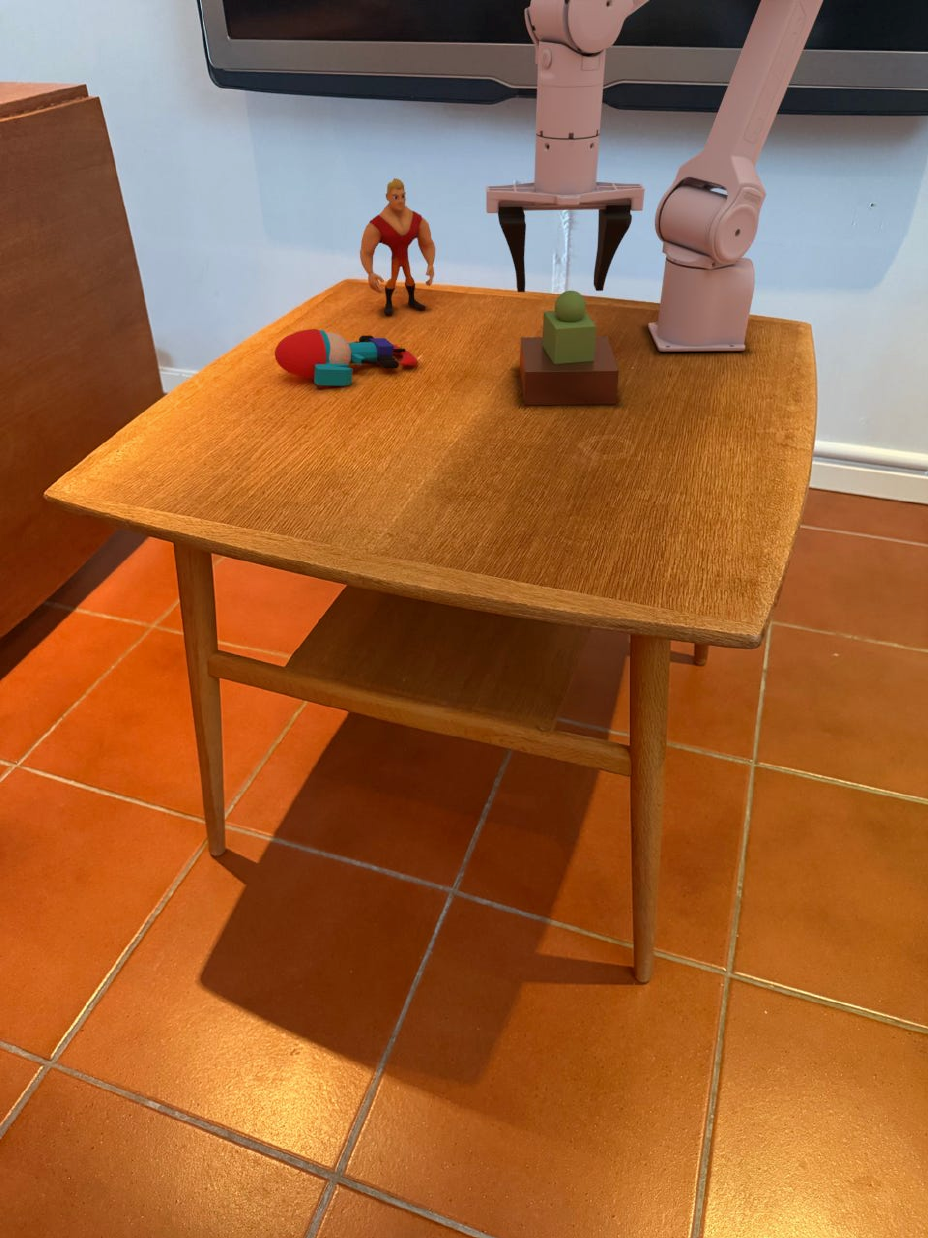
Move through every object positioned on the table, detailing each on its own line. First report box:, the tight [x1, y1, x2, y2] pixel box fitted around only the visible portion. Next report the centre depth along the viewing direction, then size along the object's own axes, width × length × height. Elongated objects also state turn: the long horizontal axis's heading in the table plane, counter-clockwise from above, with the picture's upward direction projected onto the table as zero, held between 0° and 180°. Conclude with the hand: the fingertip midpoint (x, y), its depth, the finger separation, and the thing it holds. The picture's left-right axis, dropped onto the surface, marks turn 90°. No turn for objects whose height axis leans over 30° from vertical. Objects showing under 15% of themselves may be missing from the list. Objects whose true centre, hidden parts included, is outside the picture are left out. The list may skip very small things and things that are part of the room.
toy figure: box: [274, 328, 419, 387], centre depth 93 cm, size 8×5×15 cm
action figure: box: [359, 177, 436, 316], centre depth 104 cm, size 10×4×15 cm, turn 114°
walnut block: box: [519, 336, 620, 406], centre depth 89 cm, size 9×9×4 cm
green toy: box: [542, 290, 598, 364], centre depth 86 cm, size 4×5×6 cm
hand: (559, 288), depth 87 cm, fingers open, 7 cm apart
